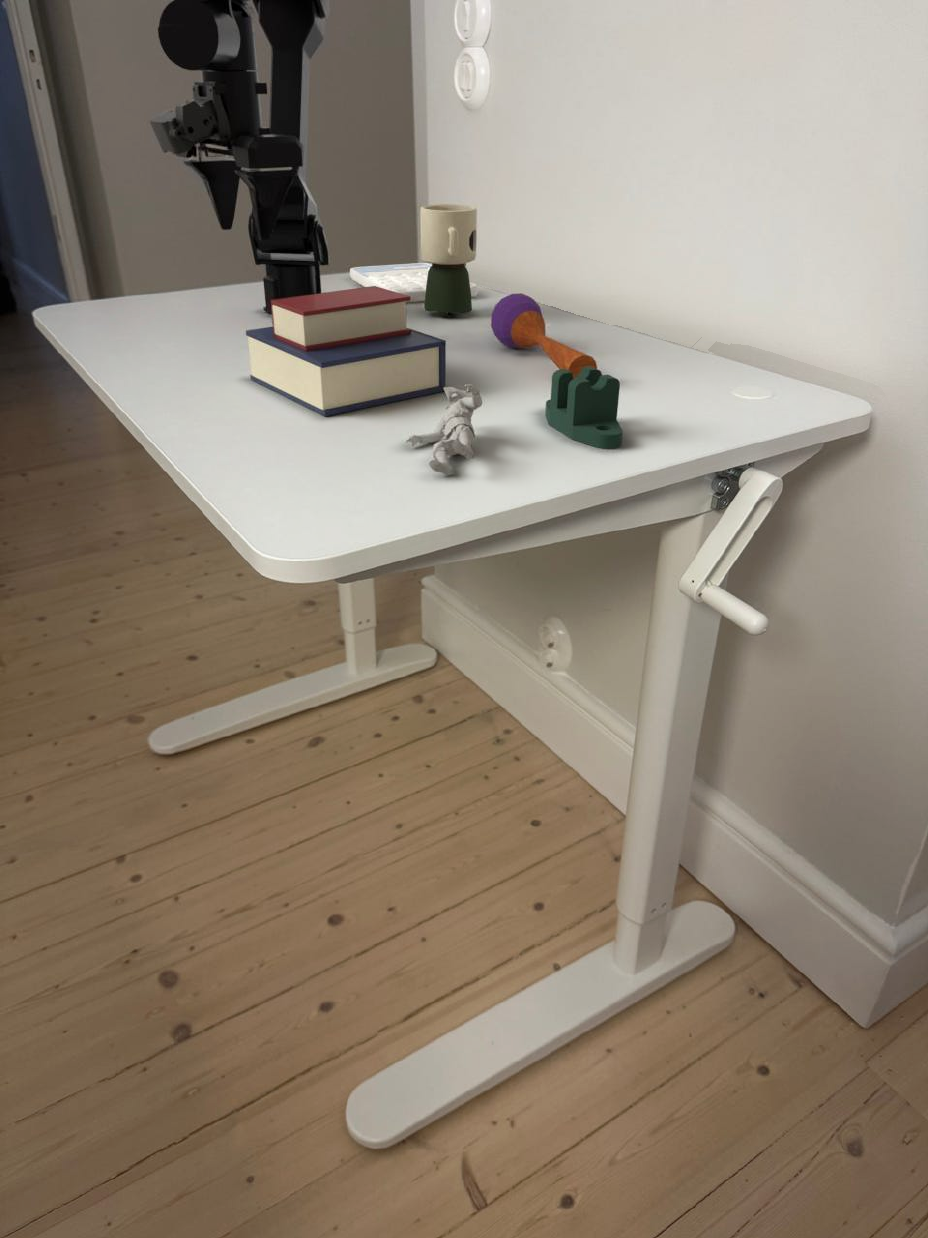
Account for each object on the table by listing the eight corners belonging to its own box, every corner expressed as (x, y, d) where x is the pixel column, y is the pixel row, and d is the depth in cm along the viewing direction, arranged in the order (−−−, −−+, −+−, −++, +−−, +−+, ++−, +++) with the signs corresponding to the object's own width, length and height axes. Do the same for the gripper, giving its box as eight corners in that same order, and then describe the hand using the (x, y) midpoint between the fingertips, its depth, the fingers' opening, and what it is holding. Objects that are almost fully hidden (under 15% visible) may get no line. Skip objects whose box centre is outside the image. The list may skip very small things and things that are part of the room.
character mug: (481, 322, 122) (483, 212, 115) (425, 324, 121) (425, 213, 114) (468, 304, 131) (470, 201, 124) (417, 305, 130) (415, 202, 123)
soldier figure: (402, 487, 76) (396, 398, 84) (444, 517, 79) (435, 428, 87) (472, 428, 73) (459, 341, 81) (514, 462, 75) (498, 374, 83)
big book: (364, 358, 106) (363, 312, 103) (445, 390, 96) (445, 340, 93) (250, 379, 98) (245, 330, 96) (325, 416, 88) (321, 362, 86)
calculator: (391, 304, 130) (390, 290, 129) (347, 278, 146) (347, 265, 145) (480, 297, 135) (480, 283, 134) (428, 272, 151) (428, 259, 150)
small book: (376, 321, 100) (374, 285, 98) (411, 333, 96) (410, 296, 94) (273, 337, 94) (270, 299, 92) (306, 351, 89) (303, 311, 87)
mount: (531, 414, 90) (534, 360, 87) (573, 408, 91) (576, 356, 89) (591, 451, 81) (596, 393, 79) (636, 444, 83) (642, 387, 80)
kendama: (553, 350, 94) (480, 294, 110) (558, 406, 98) (486, 343, 113) (607, 335, 95) (527, 281, 111) (610, 390, 99) (532, 331, 114)
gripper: (117, 69, 99) (141, 230, 107) (193, 70, 86) (213, 253, 94) (217, 70, 105) (232, 222, 113) (301, 71, 92) (312, 243, 100)
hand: (245, 234), depth 105 cm, fingers open, 9 cm apart
